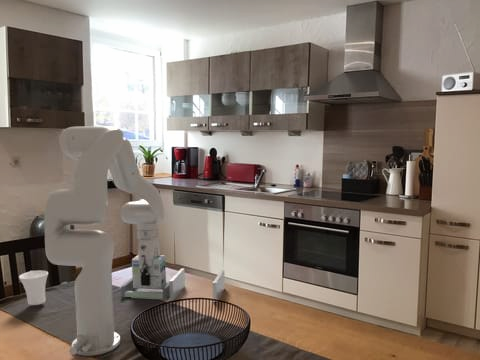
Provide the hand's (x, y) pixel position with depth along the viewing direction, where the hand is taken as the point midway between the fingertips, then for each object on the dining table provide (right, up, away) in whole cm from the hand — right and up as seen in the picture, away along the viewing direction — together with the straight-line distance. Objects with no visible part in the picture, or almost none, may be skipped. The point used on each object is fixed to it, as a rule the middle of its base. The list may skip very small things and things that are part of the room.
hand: (149, 281), depth 155 cm
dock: (0, -4, +1) cm, 4 cm away
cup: (-36, -5, -11) cm, 38 cm away
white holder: (+18, -4, -2) cm, 18 cm away
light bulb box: (0, -2, 0) cm, 2 cm away
